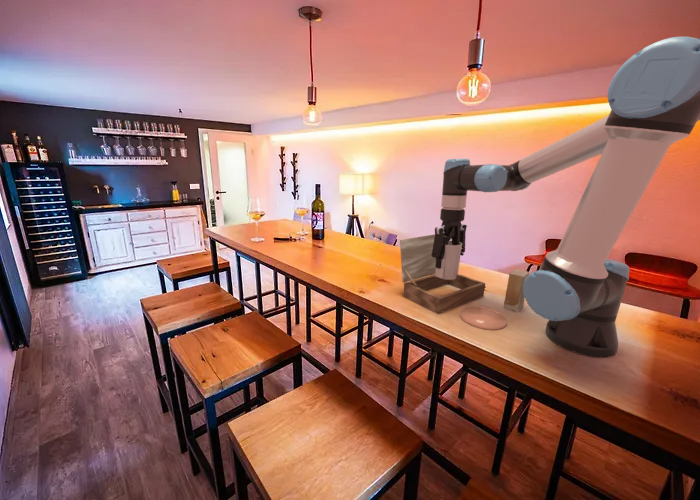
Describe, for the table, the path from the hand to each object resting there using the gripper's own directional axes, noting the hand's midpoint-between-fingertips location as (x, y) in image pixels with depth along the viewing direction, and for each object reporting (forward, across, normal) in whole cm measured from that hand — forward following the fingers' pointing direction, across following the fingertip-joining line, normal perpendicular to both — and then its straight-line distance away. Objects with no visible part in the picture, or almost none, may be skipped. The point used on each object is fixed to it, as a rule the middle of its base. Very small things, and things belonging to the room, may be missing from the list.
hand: (446, 274), depth 101 cm
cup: (+1, 0, 0) cm, 1 cm away
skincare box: (+9, -13, +17) cm, 23 cm away
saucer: (+9, +3, +16) cm, 19 cm away
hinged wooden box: (+8, 0, -3) cm, 9 cm away
